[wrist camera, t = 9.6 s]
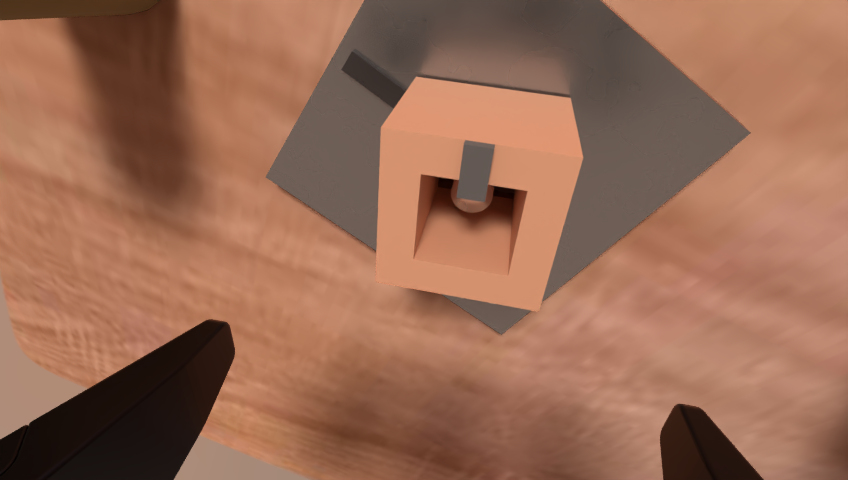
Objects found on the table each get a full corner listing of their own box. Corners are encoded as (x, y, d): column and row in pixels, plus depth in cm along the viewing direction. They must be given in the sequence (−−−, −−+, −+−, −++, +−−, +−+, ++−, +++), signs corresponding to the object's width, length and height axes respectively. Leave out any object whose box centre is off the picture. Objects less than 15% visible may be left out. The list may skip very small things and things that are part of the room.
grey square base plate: (740, 122, 17) (788, 171, 14) (502, 320, 24) (498, 383, 21) (447, -137, 15) (423, -150, 12) (275, 167, 22) (230, 211, 19)
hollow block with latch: (537, 229, 20) (538, 318, 16) (406, 207, 20) (373, 287, 16) (570, 97, 17) (584, 162, 13) (416, 76, 17) (377, 131, 13)
